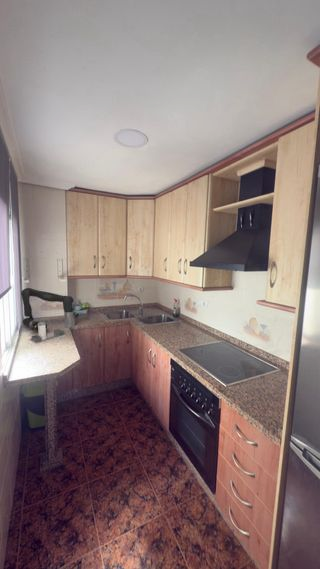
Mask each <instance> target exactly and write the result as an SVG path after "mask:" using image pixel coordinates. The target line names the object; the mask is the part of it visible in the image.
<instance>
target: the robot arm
mask: <svg viewBox="0 0 320 569" xmlns="http://www.w3.org/2000/svg"><path fill="white" fill-rule="evenodd" d="M20 295H21V299H22V303H23V304H22V305H23V313H24V314H23V315H24V317H25V318H24V319H22V324H23V325H24V326H27V327H29V328H30V330H31V331H38V323H40V321H37V320H35V318H34V316H33V312H32V311H33V310H32V306H31V303H30V297H35V298H38V299H40V300H41V301H45V302H50V303H53V302H54V303H55V302H56V303H57V302H59V303H62V306H63V314H64V315H63V317H64V328H65V329H70V328H73V327H75V326H76V324H75V320H76V319H75V317H74V308H73V303H74V302H75V300H74V298H73V297H72V296H70V295H61V294H57V293H53V292H49V291H42V290H38V289H34V288H30V287H26V288H24V289H22V290H21V292H20ZM45 328H46V329H48V324H47V323H45Z"/></svg>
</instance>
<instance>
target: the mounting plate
mask: <svg viewBox="0 0 320 569" xmlns="http://www.w3.org/2000/svg"><path fill="white" fill-rule="evenodd" d="M66 336H67V335H66V333H65V331H64V330H61V329H60V328H57V329H54V330H53V332H51V333H46V335H42V336H40V335H39V334H35V335H32V336H31V338H29V341H30V342H31V343H33V344H35V345H36V346H37V345H40V344H43V343H46V342H50V341H54V340H57V339H60V338H63V337H66Z"/></svg>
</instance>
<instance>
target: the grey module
mask: <svg viewBox="0 0 320 569" xmlns="http://www.w3.org/2000/svg"><path fill="white" fill-rule="evenodd" d="M45 324H46V322H45V321H39V323H38V330H37V331H38V334H37V335H38V336H43V335H47V331H46V330H47V328H45Z"/></svg>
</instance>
